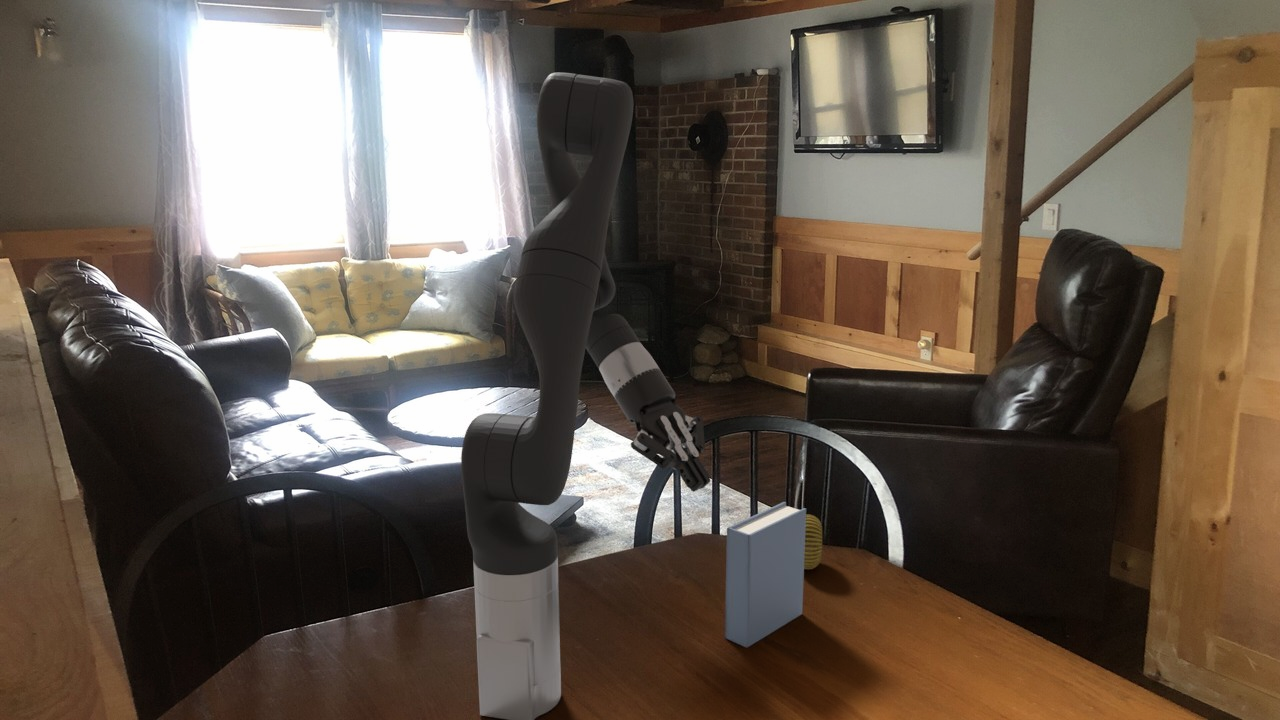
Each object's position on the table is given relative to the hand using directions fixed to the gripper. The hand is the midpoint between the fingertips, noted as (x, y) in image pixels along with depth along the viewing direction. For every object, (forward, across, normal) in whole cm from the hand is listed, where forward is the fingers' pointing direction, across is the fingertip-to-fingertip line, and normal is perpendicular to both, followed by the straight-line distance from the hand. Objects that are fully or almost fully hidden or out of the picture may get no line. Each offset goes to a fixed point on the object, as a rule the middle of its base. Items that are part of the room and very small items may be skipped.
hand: (702, 486), depth 128 cm
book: (+19, 0, +4) cm, 20 cm away
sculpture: (+15, +18, +8) cm, 25 cm away
